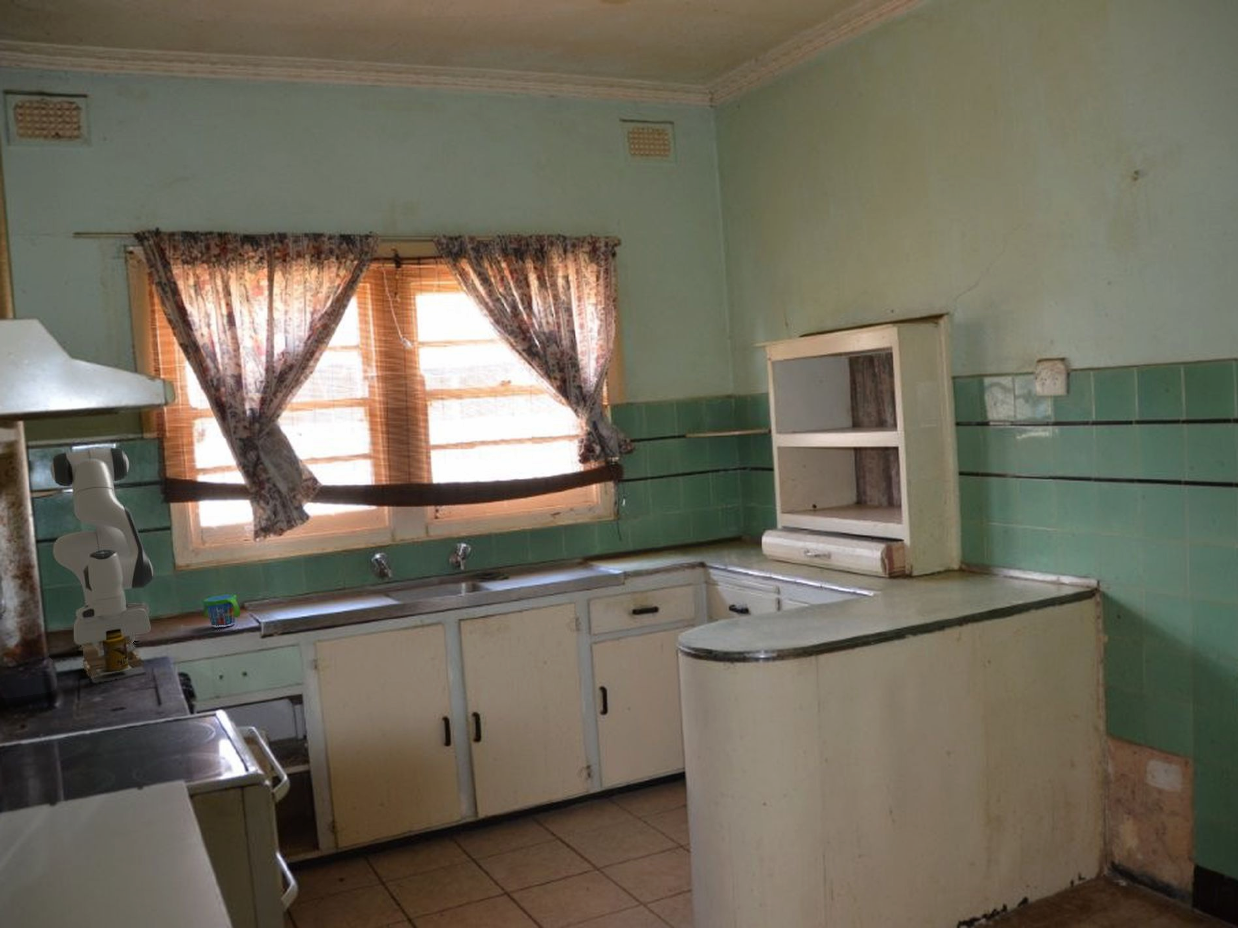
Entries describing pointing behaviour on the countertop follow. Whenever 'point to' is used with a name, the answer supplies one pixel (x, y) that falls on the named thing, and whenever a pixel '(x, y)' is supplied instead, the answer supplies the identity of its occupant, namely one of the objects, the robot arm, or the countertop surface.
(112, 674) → the mat
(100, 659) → the carton
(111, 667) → the condiment
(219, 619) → the snack cup
